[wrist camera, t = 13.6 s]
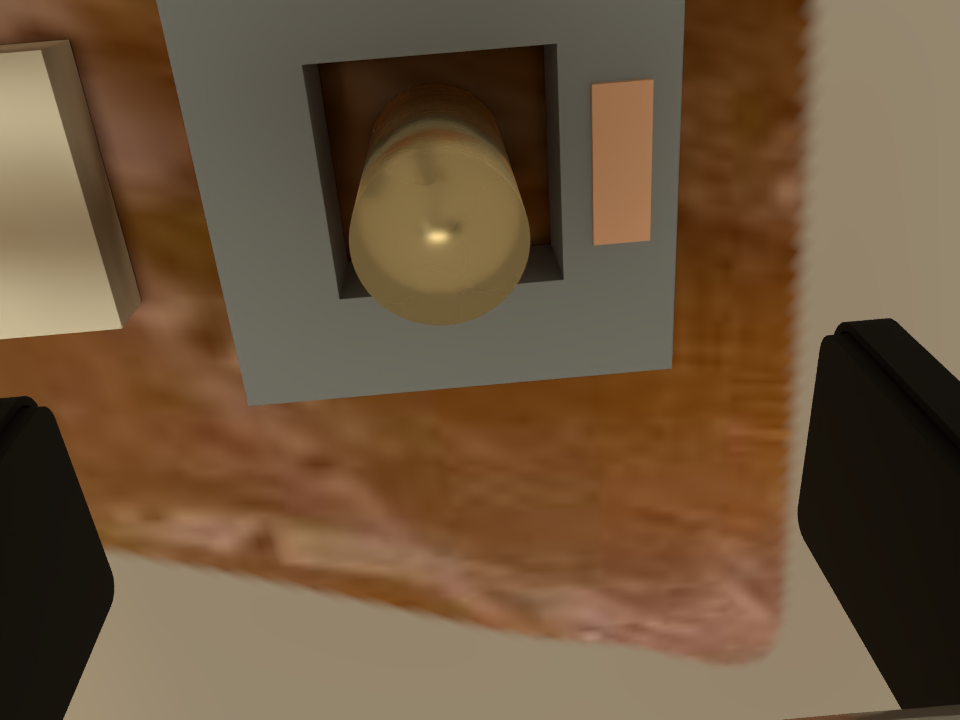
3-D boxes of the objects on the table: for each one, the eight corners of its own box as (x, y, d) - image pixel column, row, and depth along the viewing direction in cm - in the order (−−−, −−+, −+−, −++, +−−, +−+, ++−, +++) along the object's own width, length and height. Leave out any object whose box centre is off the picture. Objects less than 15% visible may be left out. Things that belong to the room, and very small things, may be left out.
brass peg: (361, 89, 25) (336, 161, 18) (498, 77, 25) (526, 145, 18) (378, 220, 27) (361, 332, 20) (506, 209, 27) (534, 317, 20)
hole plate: (173, -71, 23) (138, -68, 20) (659, -110, 23) (691, -112, 20) (264, 360, 29) (247, 409, 26) (649, 326, 29) (673, 371, 27)
